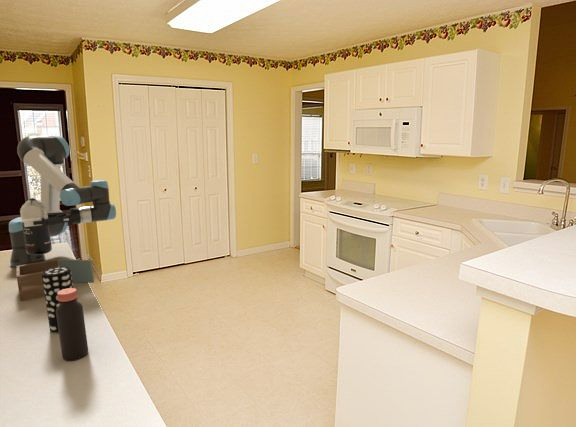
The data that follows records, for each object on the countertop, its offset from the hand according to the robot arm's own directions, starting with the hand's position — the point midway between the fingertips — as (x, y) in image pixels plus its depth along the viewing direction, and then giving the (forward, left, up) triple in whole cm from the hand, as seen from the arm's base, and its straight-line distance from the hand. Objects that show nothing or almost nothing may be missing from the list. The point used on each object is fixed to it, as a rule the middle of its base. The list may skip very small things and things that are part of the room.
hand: (23, 221), depth 175 cm
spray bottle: (0, +4, -15) cm, 16 cm away
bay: (+18, +3, -27) cm, 32 cm away
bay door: (+16, +17, -27) cm, 35 cm away
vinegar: (+83, +8, -27) cm, 88 cm away
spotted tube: (+61, +7, -27) cm, 67 cm away
